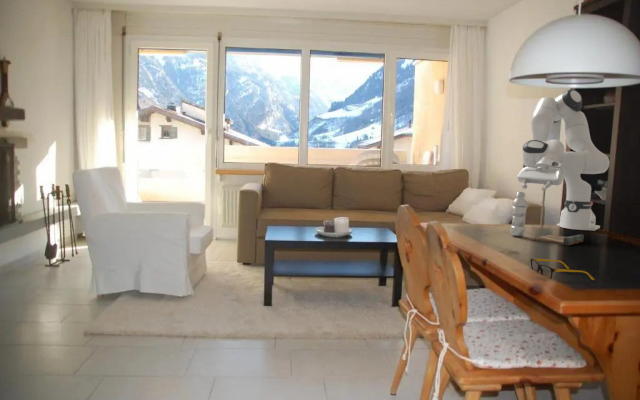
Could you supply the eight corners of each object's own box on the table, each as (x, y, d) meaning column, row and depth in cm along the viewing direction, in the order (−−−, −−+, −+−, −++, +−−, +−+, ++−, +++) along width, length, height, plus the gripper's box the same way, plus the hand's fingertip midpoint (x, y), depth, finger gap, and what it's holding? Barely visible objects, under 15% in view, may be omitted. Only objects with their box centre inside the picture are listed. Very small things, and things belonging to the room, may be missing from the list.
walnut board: (551, 236, 234) (551, 230, 234) (583, 241, 223) (583, 234, 223) (534, 240, 223) (535, 233, 223) (567, 245, 213) (567, 238, 213)
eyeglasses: (527, 269, 170) (527, 257, 169) (568, 270, 171) (569, 258, 170) (549, 280, 156) (550, 268, 155) (594, 281, 157) (595, 268, 156)
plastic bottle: (510, 237, 229) (513, 192, 227) (509, 234, 236) (512, 191, 233) (525, 238, 227) (529, 193, 225) (524, 235, 234) (527, 192, 232)
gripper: (522, 161, 249) (510, 182, 243) (564, 163, 233) (553, 185, 228) (526, 170, 252) (514, 191, 247) (568, 173, 237) (556, 195, 231)
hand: (533, 188), depth 237 cm, fingers open, 8 cm apart
